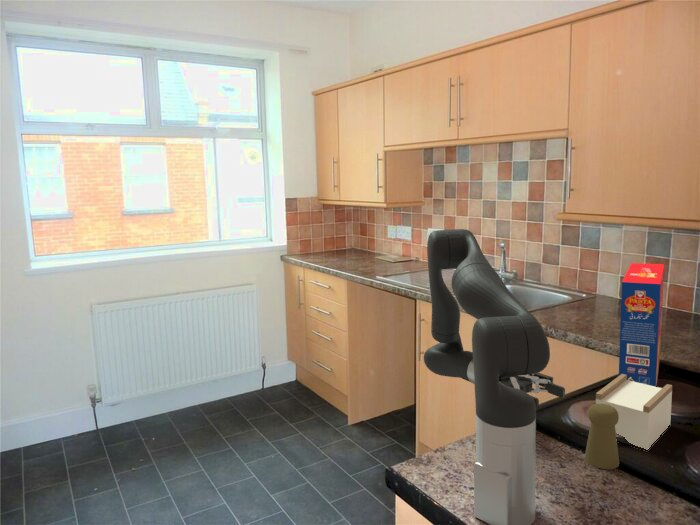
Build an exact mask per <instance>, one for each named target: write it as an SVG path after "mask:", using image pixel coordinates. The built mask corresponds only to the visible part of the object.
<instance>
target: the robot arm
mask: <svg viewBox="0 0 700 525" xmlns="http://www.w3.org/2000/svg"><path fill="white" fill-rule="evenodd" d="M426 251H427V252H426V255H427V256H426V257H427V268H428V279H429V280H428V282H429V289H430V290H429V291H430V300H431V324H430V325H431V328H430V332H431V337H432V338H433V340H435V341H436V342H437V343H436V344H435V345H432V346H431V347H428V349H427V350H426V351H425V352H424V354H423V362H424V366H426V368H427V369H428V370H429V371H430V372H432V373H433V374H436V375H438V376H442V377H448V378H449V377H450V378H460V379H462V380H464V381H467V382H469V383H471V384H473V385H474V400H475V451H476V452H475V458H476V460H475V461H476V462H474V464H473V501H474V502H473V505H474V506H473V510H474V517H475V518H477V519H478V520H481V521H483V522H485V523H486V524H488V525H532V524H533V523H534V521H535V519H536V455H537V454H536V451H537V450H536V444H537V441H536V438H537V437H536V436H537V435H536V434H537V433H536V432H537V429H536V428H537V424H536V423H537V421H536V420H537V409H538V408H539V407H540V405H539V404H540V400H539V398H538V397H536V396H533V395H531V394H534V393H535V394H539V392H542V393H543V392H545V393H548V394H550V395H554V396H556V397H557V398H558V397H559V398H564V397H565V396H566V388H565V387H564V386H561V385H558V384H557V383H554V377H553V376H550V375H546V374H543V373H541V372H543V370H545V369H546V368H547V366H548V364H549V362H550V357H551V349H550V348H551V347H550V343H549V339H548V337H547V335H546V332H545V330H544V328H543V326H542V324H541V323H540V322H539V320H538V319H537V318H536V317H535V316H534V314H532V313H531V312H530V311H529V309H527V308H526V307H525V305H523V304H522V303H521V302H520V301H519V300H518V299H517V298H516V297H515V296H514V295H513V293H512V292H511V291H510V290H509V289H508V287H507V286H506V284H505V283H504V280H503V279H502V277H501V276H500V275H499V274H498V272H497V270H495V268H494V267H493V266H492V265H491V264H490V262H489V261H488V260H487V258H486V256H485V255H484V253H483V251H482V249H481V246H480V244H479V242H478V240H477V238H476V237H475V235H474V233H473V232H471V231H470V230H469V229H465V228H458V229H439V230H433V231H431V232H430V233H429V234H428V238H427V245H426ZM442 270H454V272H453V274H452V277H451V289H452V291H453V292H451V291H450V289H449V287H448V286H447V285H446V283H445V281H444V278H443V272H442ZM452 293H453V294H454V295H453V294H452ZM460 308H462V309H463V311H464V312H465V313H467V314H468V315H470V316H471V317H473V318H475V319H476V321H475V322H474V323H473V326H472V332H471V348H472V351H471V350H470V351H468V350H464V346H463V343H462V337H461V335H460V321H461V310H460ZM533 385H535V387H534V388H533ZM529 393H531V394H529Z"/></svg>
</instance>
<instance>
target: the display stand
mask: <svg viewBox="0 0 700 525" xmlns="http://www.w3.org/2000/svg"><path fill="white" fill-rule="evenodd" d="M672 395H673V385H672V384H668V383H667V384H665V385H664V386H663V387H659V386H657V387H655V386H650V385H646V384H642V383H638V382H633V381H629V380H627V375H625V374H621V375H620V376H619V375H617V377H616V378H614V379H613V380H612V381H610V382H609V383H608V384H606V385H605V386H604V387H602V388H601V389H600V390H598V391H597V392H595V404H607V405H610V406H612V407H614V408H615V409H616V410H617V412H618V416H619V419H618V423H617V424H616V425H615V430H616V433H617V434H619V435H621V436H623V437H625V439H626V440H627V441H628V442H629V443H631V444H633V445H635V446H638V447H641V448H644V449H646V450H648V449H649V448H650V447H651V445H652V444H653V443H654V442H655V441H656V440H657V439H658V438H659V437H660V435H661V434H662V433H663V432H664V431H665V430H666V429H667V428H668V426H669V425H670V426H671V421H672V420H671V419H672V418H671V416H672V399H673V398H672V397H673V396H672ZM668 429H669V428H668ZM668 429H667V430H668ZM667 430H666V431H667ZM666 431H665V432H666ZM665 432H664V433H665ZM664 433H663V434H664ZM663 434H662V435H663ZM660 438H661V437H660ZM660 438H659V439H660ZM659 439H658V440H659ZM658 440H657V441H658ZM657 441H656V442H657ZM656 442H655V443H656ZM655 443H654V444H655ZM654 444H653V445H654ZM653 445H652V446H653ZM651 448H652V447H651ZM651 448H650V449H651ZM650 449H649V450H650ZM649 450H648V451H649Z"/></svg>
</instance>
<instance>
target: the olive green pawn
mask: <svg viewBox="0 0 700 525" xmlns="http://www.w3.org/2000/svg"><path fill="white" fill-rule="evenodd" d="M587 410H588V411H587V417H588V420H589V421H590V426H589V432H588V437H587V441H586V447H585V453H584V460H585V462H586V463H587V464H589V466H593V467H595V468H597V469H603V470H613V469H614V470H615V469H616V468H619V466H620V465H619V464H620V458H619V455H620V454H619V448H618V442H617V439H616V430H615V425H616V424H617V423H618V419H619V416H618V412H617V410H616V409H615V408H614V407H612V406H610V405H607V404H596V403H595V404H594V403H593V404H591V406H590V407H589V408H588V409H587Z"/></svg>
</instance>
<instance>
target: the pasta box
mask: <svg viewBox="0 0 700 525" xmlns="http://www.w3.org/2000/svg"><path fill="white" fill-rule="evenodd" d="M664 279H665V264H662V263H643V262H642V263H640V262H639V263H638V262H631V263H630V265H629V267H628V269H627V271H626V273H625V275H624V277H623V280H622V281H621V295H620V296H621V300H620V301H621V302H620V325H619V328H620V329H619V330H620V331H619V355H618V356H619V357H618V376H620V375H621V374H625V375H627V380H629V381H633V382H638V383H642V384H646V385H650V386H655V387H656V386H657V385H658V378H659V371H660V370H659V369H660V363H661V342H662V340H661V339H662V320H663V319H662V318H663V303H664V302H663V298H664V296H663V295H664ZM657 387H658V386H657Z"/></svg>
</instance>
